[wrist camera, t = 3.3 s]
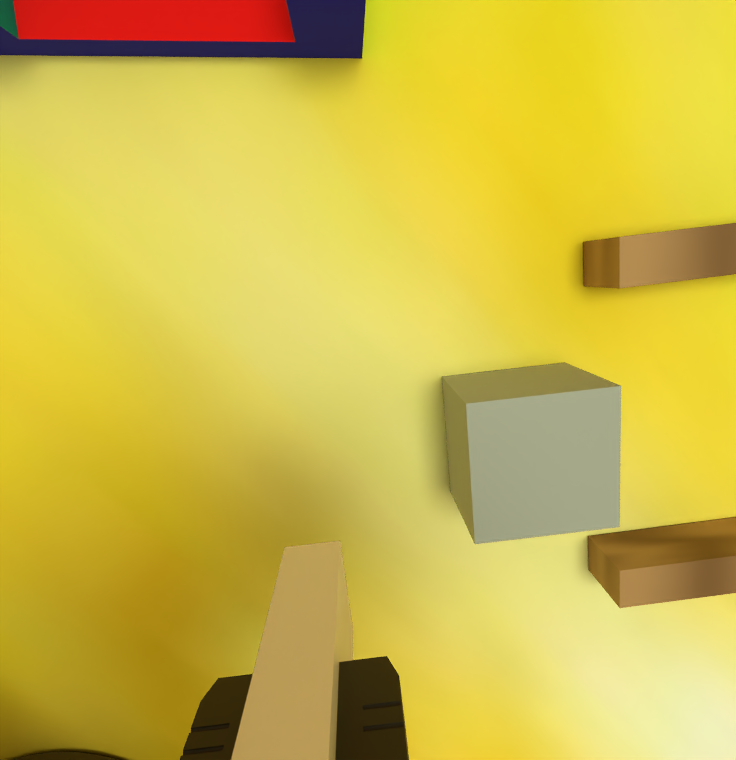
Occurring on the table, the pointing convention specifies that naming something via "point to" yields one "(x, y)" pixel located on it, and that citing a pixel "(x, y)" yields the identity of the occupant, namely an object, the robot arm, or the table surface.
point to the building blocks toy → (183, 28)
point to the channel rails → (676, 542)
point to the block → (533, 451)
